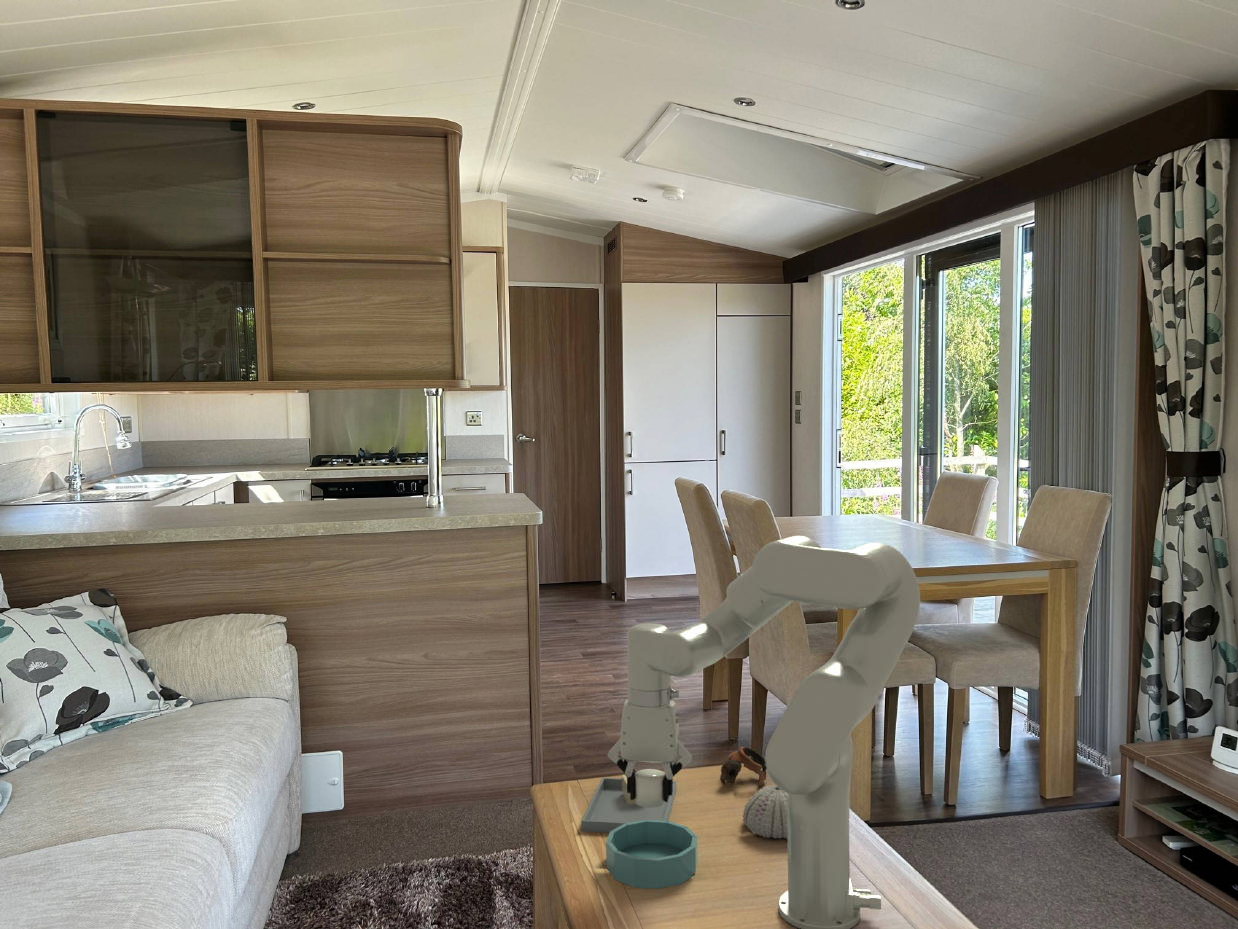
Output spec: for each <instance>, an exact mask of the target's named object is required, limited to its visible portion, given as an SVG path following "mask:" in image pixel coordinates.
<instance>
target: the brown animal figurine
mask: <svg viewBox="0 0 1238 929" xmlns="http://www.w3.org/2000/svg"><path fill="white" fill-rule="evenodd" d="M750 757H751V758H752V759H751V758H750ZM765 759H766V758H764V757H763V756H762V755H761V754H760V753H759V752H757V751H756V750H754V749H752V748H750V747H748V746H740V747H739V748H738V750H735V751H733V752H731V753H729V755H728V756H727V757H726V758H725V761H724V762H723V764H722V766H721V769H720V772H721V774H720V776H719V777H720V781H721V783H722V784H723V783H725V784H726V783H728V784H733V785H734V784H735V782H736V778H737V777H738V775H739V773H740V772H741V771H742V767H743V768H745V769H747V770H749V771H752V772H754V773H755V774H757V775H758V780H757V782H756V783H757V786H758V787H762V786H763V784H764V782H765V781H767V780H766V779H767V775H768V774H767V773H768V772H767V767H766V760H765ZM742 764H743V765H742Z"/></svg>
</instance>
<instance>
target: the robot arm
mask: <svg viewBox="0 0 1238 929" xmlns="http://www.w3.org/2000/svg"><path fill="white" fill-rule="evenodd" d="M793 602H798V603H801V604H811V605H816V606H823V607H829V608H834V609H835V608H836V609H843V610H858V611H857V613H856V615H855V616H854V618H853V619H852V620H851V622H850V624H849V625H848V626H847V629H846V630H845V632H844V635H843V638H842V639H841V640H840V643H839V645H838V646H837V648H836V650H835V651H834V653H833V654H832V656H831V658H829V660H828V661H827V662H826V663H825V664H822V665H821V667H819V668H817V669H816V670H814V671H813V672H811V673H810V674H809V675H808V676H806V678H805V679H804V680H802V682H801V683H800V685H799V686H798V688H797V689H796V691H795V693H794V694H793V697H792V698H791V700H790V702H789V704H788V705H787V708H786V709H785V711H784V713H783V714H782V717H781V719H780V720H779V722H778V725H777V726H776V728H775V730H774V732H773V733H772V736H771V737H770V739H769V741H768V743H767V747H766V751H765V758H764V759H765V760H766V767H767V769H766V772H767V773H768V774H767V775H769V778H770V779H771V781H772V782H773V784H774V786H777V787H778V788H780V789H781V790H783V791H785V792H787V793H788V799H787V830H788V838H787V890H786V891H785V892H784V893H782V894H781V895H780V897H779V899H778V905H777V906H778V912H779V914H780V916H781V918H783V919H784V920H785V921H786V922H787V923H789V924H790V925H792V926H793V927H796V928H798V929H800V928H801V929H852V928H853V927H855V926H856V925H857V924H858V923H859V921H860V919H861V909H862V908H863V909H870V910H881V909H882V898H881V895H872V890H871V889H870V888H856V887H855V886H853V885H852V884H853V883H852V880H851V876H850V873H851V872H850V871H851V870H850V865H851V864H850V795H851V794H850V790H851V777H852V770H853V769H852V768H853V758H854V756H853V755H854V744H853V739H852V735H851V734H852V732H853V730H854V729H855V727H857V725H859V724H860V723H861V722H862V721H863V720H864V719H865V718H866V717H867V716H868V715H869V714H870V713H871V712H872V710H873V709H874V707H875V705H876V703H877V701H878V699H879V697H880V695H881V692H882V691H883V689H884V687H885V686H886V683H887V681H888V679H889V678H890V676H891V674H892V673H893V671H894V669H895V667H896V665H897V663H898V660H899V658H900V657H901V655H902V653H903V651H904V649H905V647H906V645H907V643H909V642H908V641H909V640H910V638H911V636H912V633H913V631H914V628H915V627H916V623H917V620H918V618H919V612H920V606H921V592H920V585H919V581H918V578H917V576H916V573H915V571H914V569H913V567H912V566H911V563H910V562H909V561H908V559H907V558H906V557H905V556H904V554H902V553H901V551H899V550H897V548H895V547H894V546H891V545H889V544H886V543H883V542H882V543H881V542H870V543H866V544H865V543H864V544H861V545H859V546H857V547H856V546H855V547H854V548H850V549H848V550H846V549H845V550H843V549H834V548H823V547H822V546H820V544H819V543H818V542H816V541H815V540H814V539H811V538H810V537H807V536H804V535H792V536H788V537H784V538H781V539H778V540H774V541H771V542H768V543H767V544H766V545H763V547H762V548H760V550H759V551H758V552H757V553H756V554H755V558H754V560H753V563H752V565H751V566H750V567H748V568H747V569H746V570H745V571H743V572H742V573H741V574H740V575H739V576H737V577H736V578H735V579H734V580H732V581H731V582H730V583H729V584H728V586H727V587H726V598H725V599H724V600H723V601H722V602H721V603H720V604H719V605H718V606H717V607H716V608H714V609H713V610H712V611H710V613H709V614H707V615H706V616H705V617H703V618H702V619H701V620H699V621H698V622H696V623H694V624H691V625H688V626H686V627H684V628H681V629H679V630H675V631H670V629H669V628H668V627H667V626H666V625H663V624H661V623H652V622H651V623H649V622H648V623H637V624H635V625H633V626H631V627H630V628H629V629H628V632H627V699H626V700H625V701H624V702H623V703H624V704H623V708H622V713H621V714H622V715H621V724H620V725H621V726H620V738H619V739H618V740H617V742H616V743H615V744H614V745H613V746H612V748H610V750H609V751H608V753H607V758H609V759H610V761H612V763H615V764H616V766H617V767H618V768H619V769H620V770H621V771H622V772H623V773H624V775H625V776H626V777H627V793H630V800H634V799H635V773H636V772H637V771H636V770H635V767H636V763H637V762H638V763H639V762H640V763H655V764H656V763H657V764H658V763H659V764H662V768H663V770H664V771H663V772H664V774H665V777H664V779H663V801H664V802H668V798H669V795H671V796H672V794H673V781H674V779H673V778H674V777H675V776H676V775H677V774H678V773H679V772H680V771H681V770H682V769H683V768H684V767H686V766H687V765H688V764H690V763H691V762H692V759H693V756H692V754H691V753H690V751H688V749H687V748H686V747H685V745H684V744H683V743H682V742H681V741H680V726H679V716H678V710H677V705H676V704H677V703H676V702H675V701H674V700H673V699H679V698H680V690H679V689H675V688H673V687H672V677H675V678H685V677H691V675H693V674H696V673H697V672H699V671H701V670H703V669H705V668H707V667H710V666H711V665H714V664H715V663H717V662H719V661H720V660H721V659H723V658H724V657H726V655H728V654H729V653H731V652H732V651H734V650H735V649H736V648H737V647H738V646H740V644H743V642H745V641H747V639H749V637H751V636H752V635H753V634H754V633H756V632H757V631H759V630H760V629H761V628H762V627H763V626H764V625H765V624H767V623H768V622H769V621H771V620H772V619H773V618H775V616H777V615H778V614H779V613H780V612H782V611H783V610H784V609H786V608H787V607H788V606H789V605H791V604H792V603H793ZM619 752H620V753H619ZM678 755H679V756H680V757H681V758H679V759H678ZM677 759H678V760H677ZM673 762H675V763H673Z"/></svg>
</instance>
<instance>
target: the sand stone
mask: <svg viewBox="0 0 1238 929" xmlns="http://www.w3.org/2000/svg"><path fill="white" fill-rule="evenodd" d="M621 778H622V794H623V796H624V798H625V800H626V802H627V804H628V805H629V804H636V803H635V799H634V800H630V793H627V777H626V776H625V774H621Z"/></svg>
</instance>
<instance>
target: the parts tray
mask: <svg viewBox="0 0 1238 929" xmlns="http://www.w3.org/2000/svg"><path fill="white" fill-rule="evenodd" d="M597 785H598V786H597V787H596V789H595V791H594V793H593V795H592V798H591V800H590V802H589V803H588V806H587V808H586V810H585V813H584V815H583V817H582V818H581V820H580V821H581V823H580V825H581V826H580V827H581V830H580V831H581V832H590V833H591V832H592V833H593V832H594V833H610V831H612V830H614V829H616V828H617V827H619V826H621V825H623V824H625V823H630V822H636V821H641V820H662V821H670V816H671V814H672V809H673V805H674V802H675V797H676V794H677V790H678V789H677V780H673V794H672V796H671V795H669V798H668V802H665V803H664V804H663V805H662V806H659V807H654V808H646V807H641V806H639V805H637V804H629V805H628V804H627V802H626V800H625V798H624V796H623V794H622V777H621V778H620V777H601V779H600V780H599V782H598V784H597Z"/></svg>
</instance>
